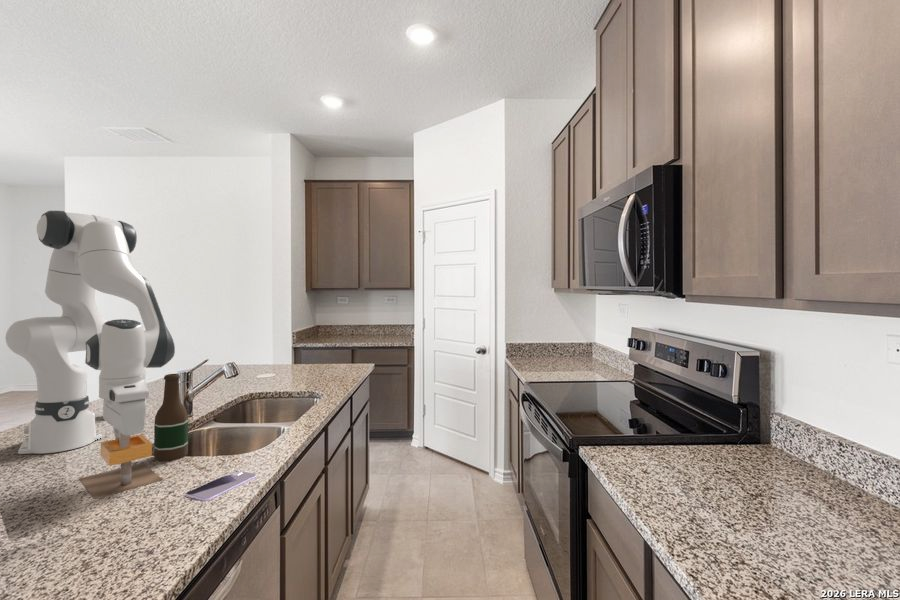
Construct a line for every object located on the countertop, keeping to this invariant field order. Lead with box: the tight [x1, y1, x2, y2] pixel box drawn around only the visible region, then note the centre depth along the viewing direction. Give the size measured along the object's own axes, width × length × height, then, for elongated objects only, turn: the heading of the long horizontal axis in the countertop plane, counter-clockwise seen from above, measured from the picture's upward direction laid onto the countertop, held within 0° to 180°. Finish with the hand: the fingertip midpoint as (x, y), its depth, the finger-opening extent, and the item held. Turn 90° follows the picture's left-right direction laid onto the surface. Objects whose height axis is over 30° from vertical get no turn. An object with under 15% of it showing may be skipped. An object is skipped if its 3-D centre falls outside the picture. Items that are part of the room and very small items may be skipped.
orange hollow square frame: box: [100, 433, 153, 467], centre depth 100 cm, size 8×8×3 cm
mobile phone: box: [184, 470, 258, 502], centre depth 103 cm, size 8×1×15 cm
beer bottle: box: [153, 373, 189, 462], centre depth 117 cm, size 8×8×24 cm
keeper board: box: [78, 461, 164, 500], centre depth 102 cm, size 16×13×8 cm
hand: (122, 445), depth 102 cm, fingers closed on orange hollow square frame
